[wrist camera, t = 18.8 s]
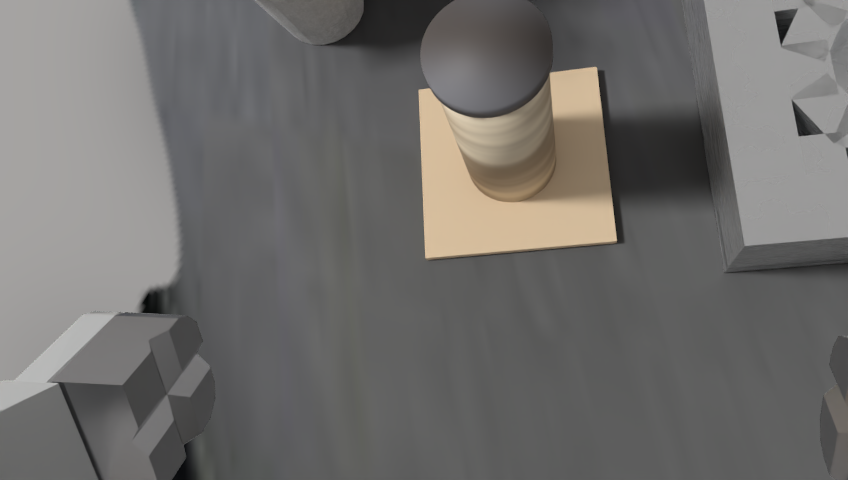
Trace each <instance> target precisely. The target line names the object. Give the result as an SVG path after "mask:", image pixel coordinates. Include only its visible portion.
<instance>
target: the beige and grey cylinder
mask: <svg viewBox="0 0 848 480" xmlns="http://www.w3.org/2000/svg"><path fill="white" fill-rule="evenodd" d="M420 59H421V66H422V70H423V73H424V76H425V78H426V80H427V83H428V85H429V87H430V89H431V91H432V93H433V94H434V95H435V97H436V98H437V99H438V100H439V101H440V102H441V105H442V107H443V110H444V112H445V115H446V117H447V120H448V122H449V125H450V127H451V130H452V132H453V135H454V137H455V140H456V142H457V145H458V147H459V150H460V152H461V155H462V157H463V160H464V162H465V165H466V167H467V170H468V172H469V175H470V177H471V180H472V181H473V183H474V185H475V186H476V187H477V188H478V190H480V191H481V192H482V193H483V194H484V195H486V196H488V197H490V198H491V199H494V200H497V201H501V202H518V201H523V200H526V199H528V198H531V197H533V196H534V195H536V194H538V193H539V192H540V191H541V190H542V189H543V188H544V187H545V186H546V185H547V184H548V183H549V181H550V179H551V178H552V176H553V173H554V170H555V167H556V148H555V135H554V122H553V110H552V97H551V85H550V71H551V67H552V62H553V44H552V35H551V31H550V28H549V25H548V23H547V21H546V19H545V17H544V16H543V14H542V13H541V11H540V10H539V9H538V8H537V7H536V6H535V5H534V4H532V3H531V2H530V1H528V0H454V1H453V2H451V3H449V4H448V5H447V6H445V7H444V8H443V9H442V10H441V11H440V12H439V13H438V14H437V15H436V16H435V17H434V19H433V20H432V21H431V23H430V24H429V26H428V28H427V30H426V32H425V34H424V37H423V40H422V44H421V51H420Z"/></svg>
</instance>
